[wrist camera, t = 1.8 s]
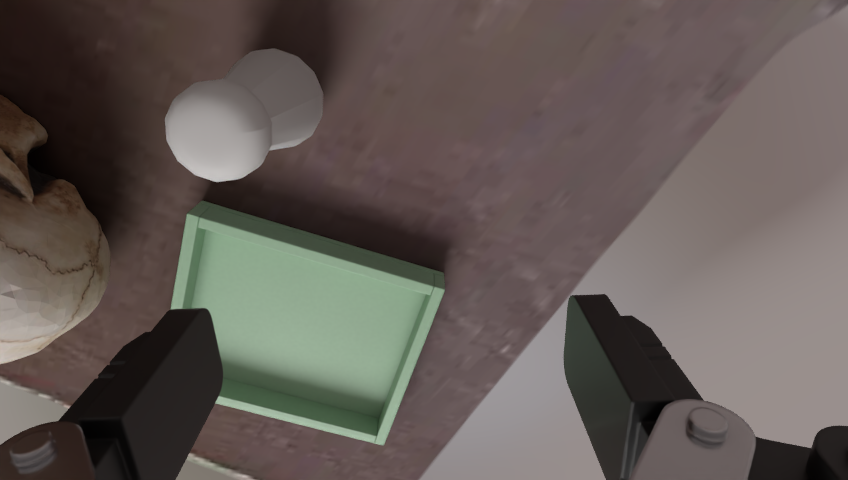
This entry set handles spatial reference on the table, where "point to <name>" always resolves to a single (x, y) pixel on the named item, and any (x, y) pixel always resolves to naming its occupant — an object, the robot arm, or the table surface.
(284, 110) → the salt shaker
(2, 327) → the coin bank
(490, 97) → the table surface
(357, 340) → the tray
